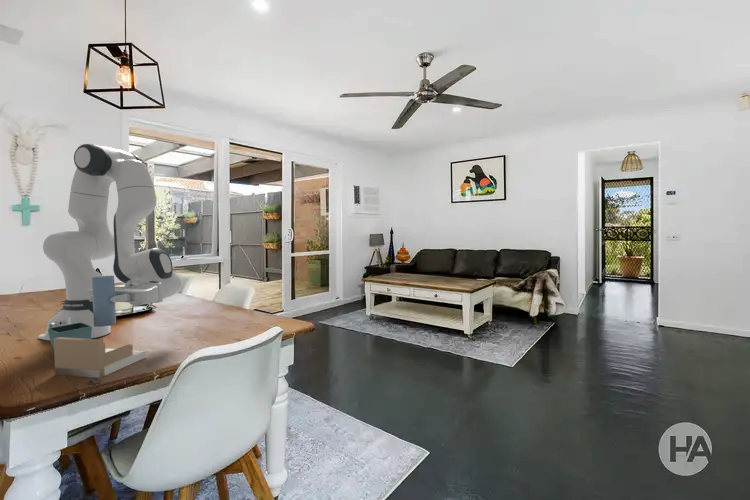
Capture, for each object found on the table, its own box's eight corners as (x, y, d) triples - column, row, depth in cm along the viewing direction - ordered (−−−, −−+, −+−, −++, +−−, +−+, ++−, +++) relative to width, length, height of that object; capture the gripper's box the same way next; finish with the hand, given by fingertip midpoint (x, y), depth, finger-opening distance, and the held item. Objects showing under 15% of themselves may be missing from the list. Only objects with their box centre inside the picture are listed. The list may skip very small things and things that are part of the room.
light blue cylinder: (89, 326, 103) (86, 277, 103) (105, 321, 108) (103, 275, 108) (105, 327, 103) (102, 278, 102) (120, 322, 108) (118, 275, 107)
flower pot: (59, 362, 108) (57, 332, 108) (48, 356, 113) (47, 328, 112) (94, 353, 115) (92, 325, 115) (82, 348, 120) (81, 322, 120)
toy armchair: (55, 374, 99) (53, 338, 98) (107, 354, 114) (106, 323, 114) (99, 378, 96) (98, 341, 96) (146, 357, 112) (145, 325, 112)
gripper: (111, 281, 119) (70, 287, 106) (166, 282, 116) (131, 289, 102) (112, 299, 120) (71, 308, 106) (167, 301, 116) (132, 311, 103)
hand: (101, 299), depth 104 cm, fingers closed on light blue cylinder, 5 cm apart
